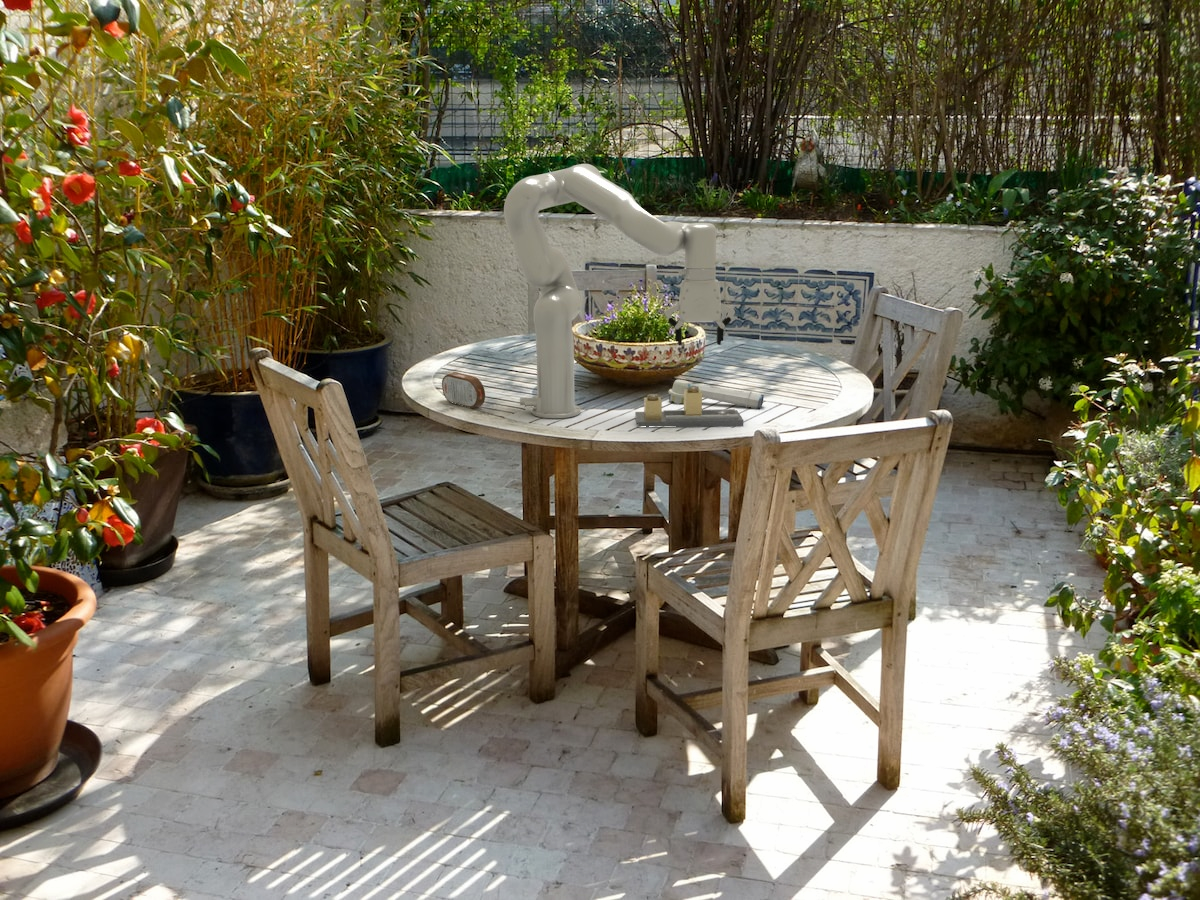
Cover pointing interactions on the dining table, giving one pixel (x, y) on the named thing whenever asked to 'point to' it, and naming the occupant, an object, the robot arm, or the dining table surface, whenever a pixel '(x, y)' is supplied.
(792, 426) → the dining table surface
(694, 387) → the block
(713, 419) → the bolt plate
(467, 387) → the tin
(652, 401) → the fixed leg
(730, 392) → the grey flashlight
